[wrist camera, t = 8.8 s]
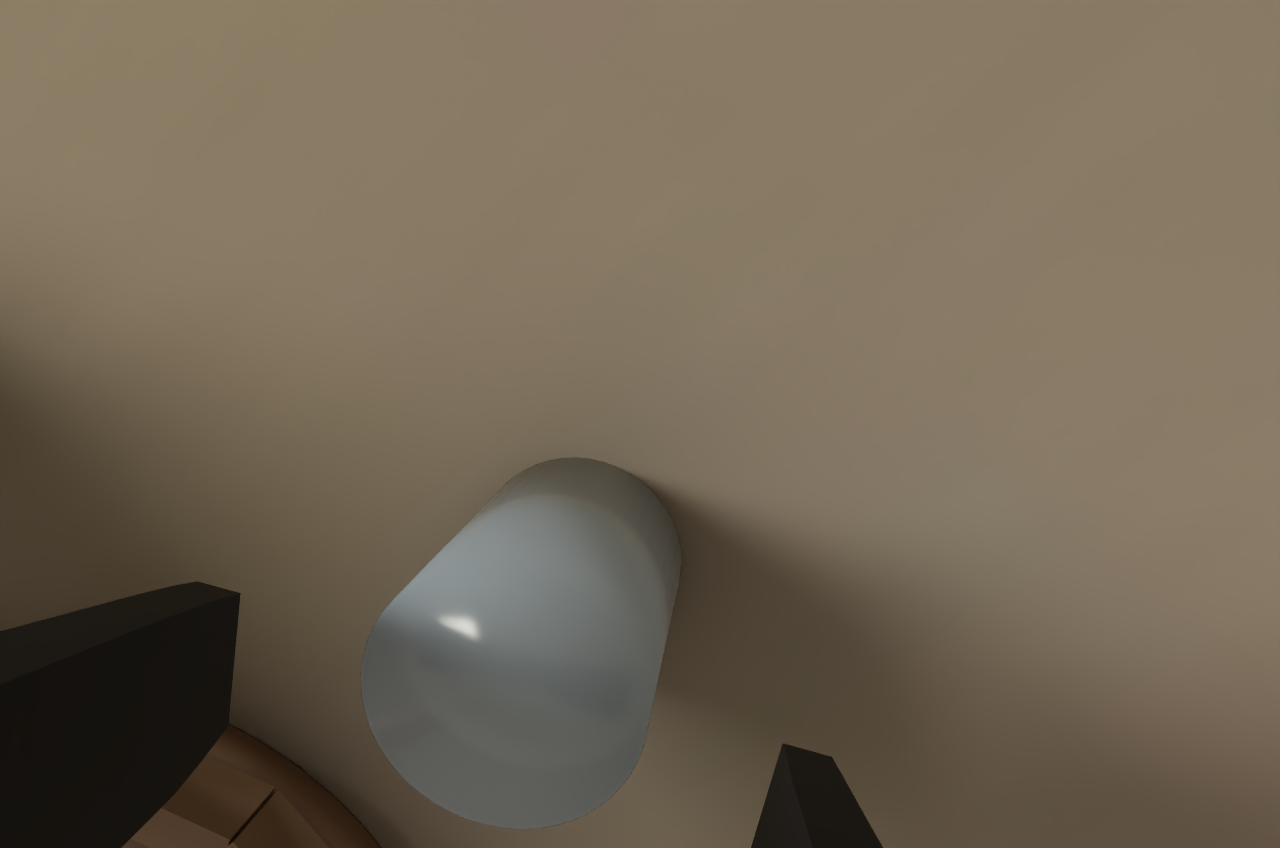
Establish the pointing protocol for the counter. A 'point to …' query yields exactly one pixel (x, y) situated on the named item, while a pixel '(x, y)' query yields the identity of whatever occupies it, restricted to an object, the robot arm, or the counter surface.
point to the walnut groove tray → (250, 805)
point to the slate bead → (529, 649)
